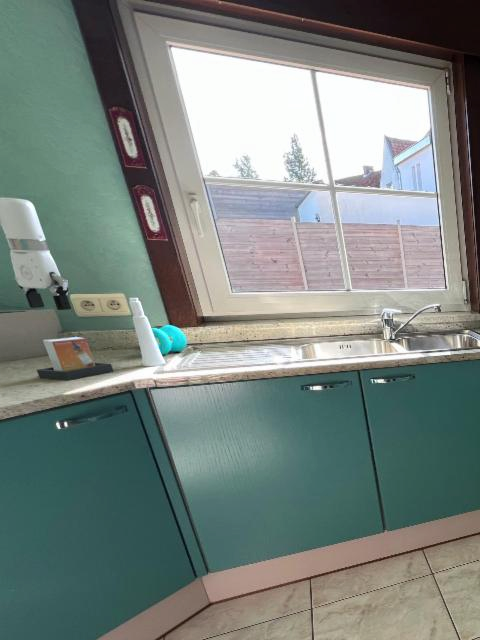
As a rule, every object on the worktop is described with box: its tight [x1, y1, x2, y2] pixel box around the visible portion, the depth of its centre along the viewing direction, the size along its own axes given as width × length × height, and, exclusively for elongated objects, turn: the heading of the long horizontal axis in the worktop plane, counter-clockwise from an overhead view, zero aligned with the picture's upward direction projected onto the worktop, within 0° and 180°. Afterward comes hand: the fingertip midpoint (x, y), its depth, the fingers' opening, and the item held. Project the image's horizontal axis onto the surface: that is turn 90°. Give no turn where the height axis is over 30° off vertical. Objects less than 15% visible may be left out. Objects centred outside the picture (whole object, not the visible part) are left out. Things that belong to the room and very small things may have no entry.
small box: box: [42, 336, 96, 371], centre depth 151 cm, size 8×6×10 cm
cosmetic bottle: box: [128, 297, 167, 367], centre depth 164 cm, size 6×6×22 cm
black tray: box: [36, 361, 114, 381], centre depth 153 cm, size 11×13×3 cm
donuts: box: [151, 324, 188, 356], centre depth 184 cm, size 10×10×10 cm
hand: (51, 308), depth 146 cm, fingers open, 9 cm apart
